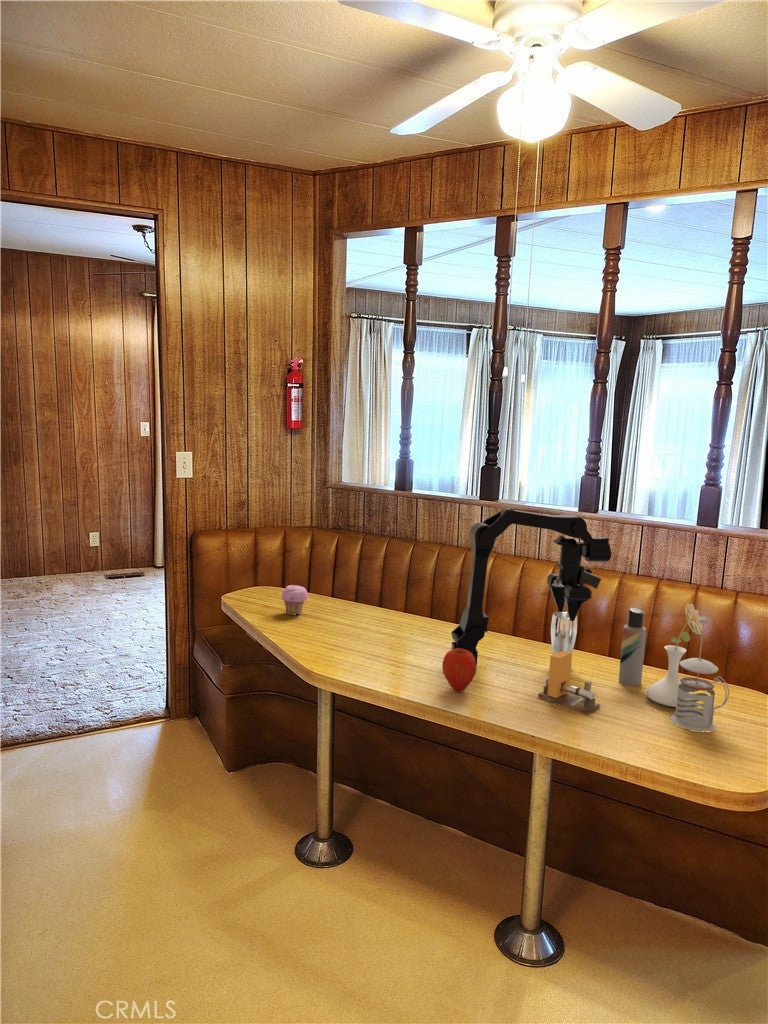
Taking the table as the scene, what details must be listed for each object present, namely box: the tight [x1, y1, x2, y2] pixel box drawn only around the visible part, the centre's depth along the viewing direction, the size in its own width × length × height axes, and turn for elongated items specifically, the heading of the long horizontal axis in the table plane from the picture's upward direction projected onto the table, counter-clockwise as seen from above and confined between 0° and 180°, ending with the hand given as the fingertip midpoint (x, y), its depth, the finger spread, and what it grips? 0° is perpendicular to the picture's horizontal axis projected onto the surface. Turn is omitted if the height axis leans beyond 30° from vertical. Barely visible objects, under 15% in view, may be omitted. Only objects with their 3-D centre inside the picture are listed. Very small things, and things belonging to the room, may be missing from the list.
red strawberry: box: [441, 648, 477, 693], centre depth 171 cm, size 9×8×11 cm
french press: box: [669, 617, 730, 733], centre depth 156 cm, size 10×12×25 cm
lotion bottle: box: [618, 607, 647, 687], centre depth 182 cm, size 6×6×20 cm
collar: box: [548, 651, 573, 698], centre depth 168 cm, size 2×6×10 cm, turn 135°
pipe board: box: [537, 680, 601, 715], centre depth 168 cm, size 13×8×5 cm, turn 45°
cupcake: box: [281, 584, 308, 616], centre depth 233 cm, size 9×9×10 cm
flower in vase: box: [645, 602, 705, 708], centre depth 169 cm, size 13×11×25 cm
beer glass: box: [550, 611, 578, 670], centre depth 192 cm, size 7×7×15 cm
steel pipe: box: [545, 677, 595, 700], centre depth 167 cm, size 12×2×2 cm, turn 45°
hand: (566, 616), depth 191 cm, fingers open, 9 cm apart
